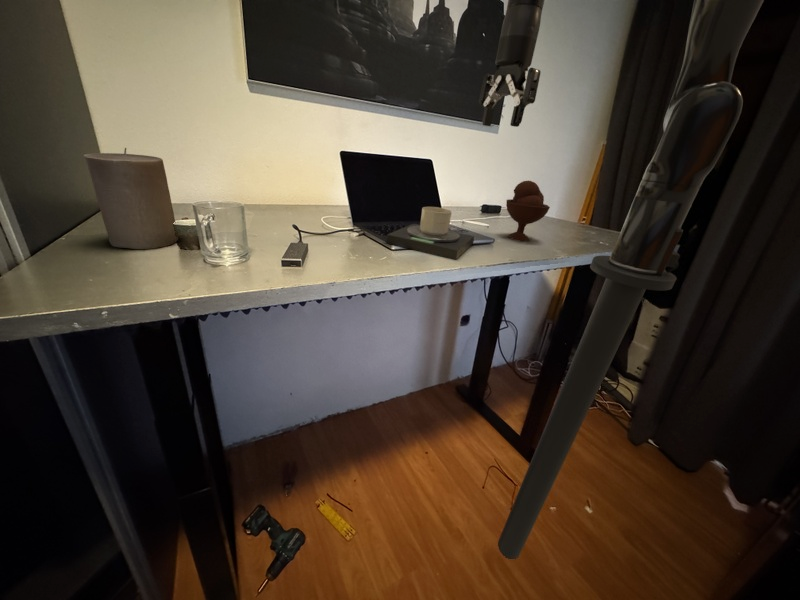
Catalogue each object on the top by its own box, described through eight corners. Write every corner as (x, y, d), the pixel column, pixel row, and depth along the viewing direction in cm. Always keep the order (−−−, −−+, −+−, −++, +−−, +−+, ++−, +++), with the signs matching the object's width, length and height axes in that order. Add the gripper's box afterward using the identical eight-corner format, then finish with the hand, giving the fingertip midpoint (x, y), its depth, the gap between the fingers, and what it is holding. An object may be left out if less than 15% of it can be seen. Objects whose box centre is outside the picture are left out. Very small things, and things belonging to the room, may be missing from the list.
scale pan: (465, 234, 77) (465, 232, 77) (450, 245, 67) (451, 242, 67) (418, 225, 81) (418, 222, 81) (398, 234, 71) (398, 231, 71)
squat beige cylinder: (451, 232, 76) (455, 210, 73) (442, 237, 70) (446, 214, 68) (425, 226, 78) (428, 205, 76) (415, 231, 72) (417, 208, 70)
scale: (472, 244, 79) (474, 234, 78) (455, 259, 66) (458, 248, 65) (412, 231, 84) (413, 222, 83) (386, 243, 72) (387, 233, 71)
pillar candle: (170, 231, 63) (153, 147, 57) (185, 245, 57) (168, 152, 51) (105, 237, 57) (77, 142, 50) (114, 253, 51) (84, 148, 44)
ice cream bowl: (536, 246, 83) (554, 185, 76) (493, 237, 88) (507, 178, 81) (542, 239, 91) (558, 183, 85) (503, 231, 96) (516, 177, 90)
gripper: (558, 37, 65) (535, 128, 72) (504, 48, 75) (488, 127, 82) (535, 26, 61) (513, 124, 68) (481, 39, 71) (466, 123, 78)
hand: (499, 126), depth 75 cm, fingers open, 8 cm apart
